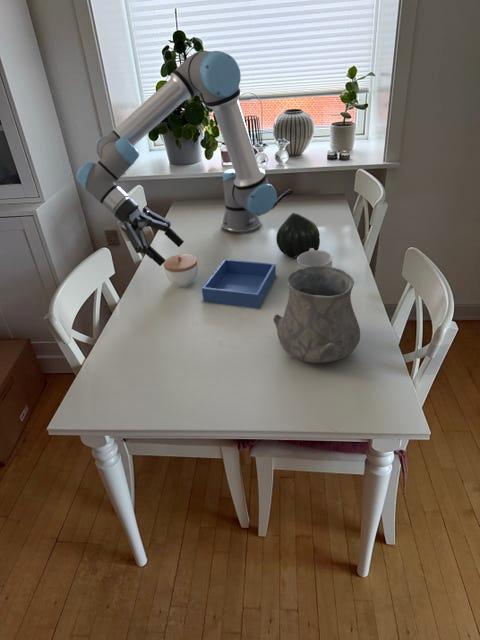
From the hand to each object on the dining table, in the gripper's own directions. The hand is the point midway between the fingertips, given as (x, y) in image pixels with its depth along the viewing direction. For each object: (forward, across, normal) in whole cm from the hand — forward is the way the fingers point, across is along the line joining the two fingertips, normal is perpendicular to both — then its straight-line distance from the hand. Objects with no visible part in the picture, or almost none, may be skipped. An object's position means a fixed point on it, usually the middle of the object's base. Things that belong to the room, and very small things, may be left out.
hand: (172, 253), depth 144 cm
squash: (+32, -28, +17) cm, 45 cm away
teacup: (+38, -12, +23) cm, 46 cm away
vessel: (+43, +24, +28) cm, 57 cm away
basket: (+23, 0, +8) cm, 25 cm away
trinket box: (+9, 0, -6) cm, 11 cm away
